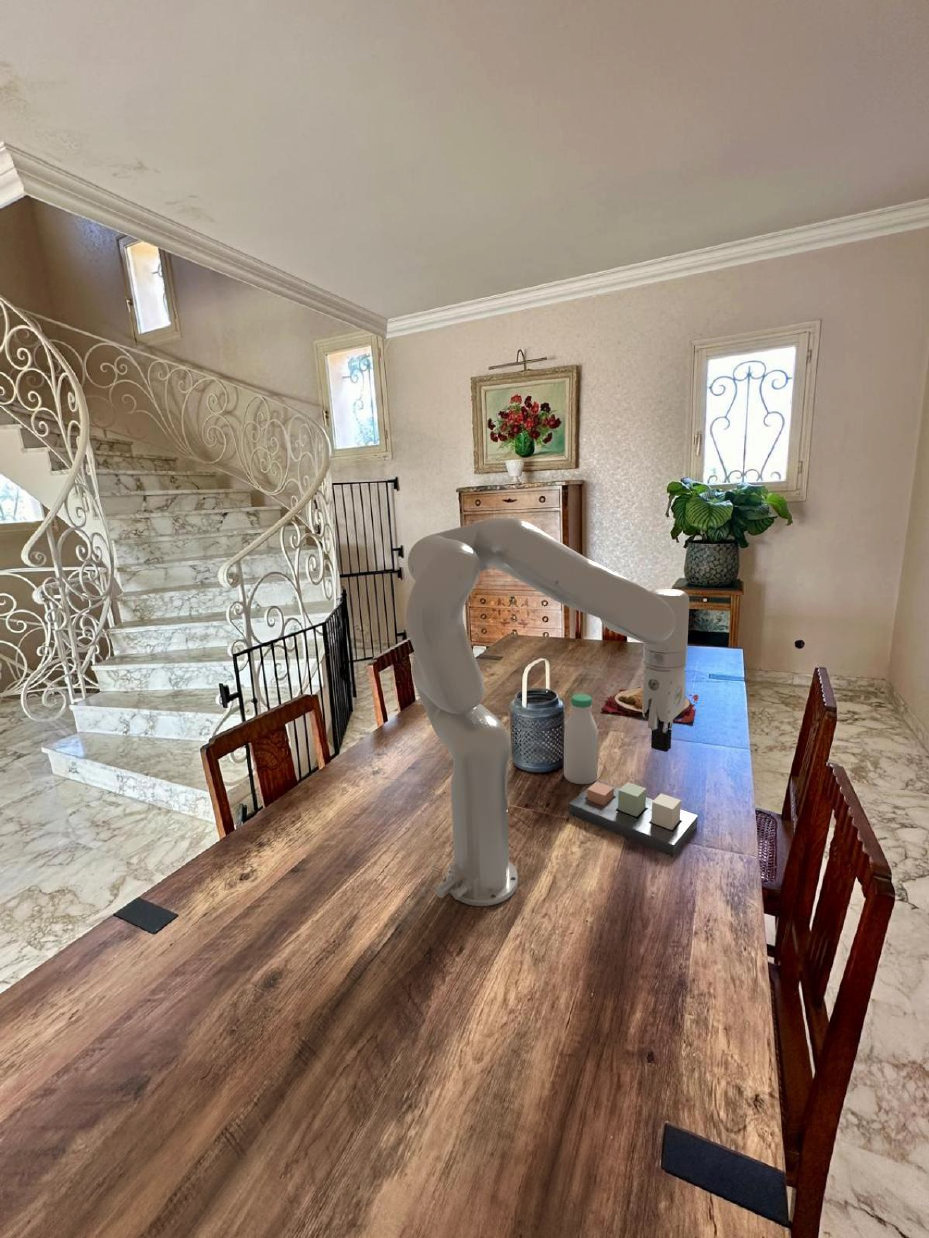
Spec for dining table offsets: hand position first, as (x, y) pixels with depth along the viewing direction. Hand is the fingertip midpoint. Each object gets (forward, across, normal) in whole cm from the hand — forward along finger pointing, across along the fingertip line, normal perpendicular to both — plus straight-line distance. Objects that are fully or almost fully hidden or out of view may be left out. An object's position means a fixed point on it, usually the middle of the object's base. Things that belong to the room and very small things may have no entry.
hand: (660, 748), depth 107 cm
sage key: (+15, 0, +5) cm, 16 cm away
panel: (+17, 0, +5) cm, 18 cm away
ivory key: (+15, 0, -2) cm, 15 cm away
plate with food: (+19, +61, +26) cm, 69 cm away
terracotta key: (+17, 0, +12) cm, 21 cm away
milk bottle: (+18, +9, +22) cm, 30 cm away
